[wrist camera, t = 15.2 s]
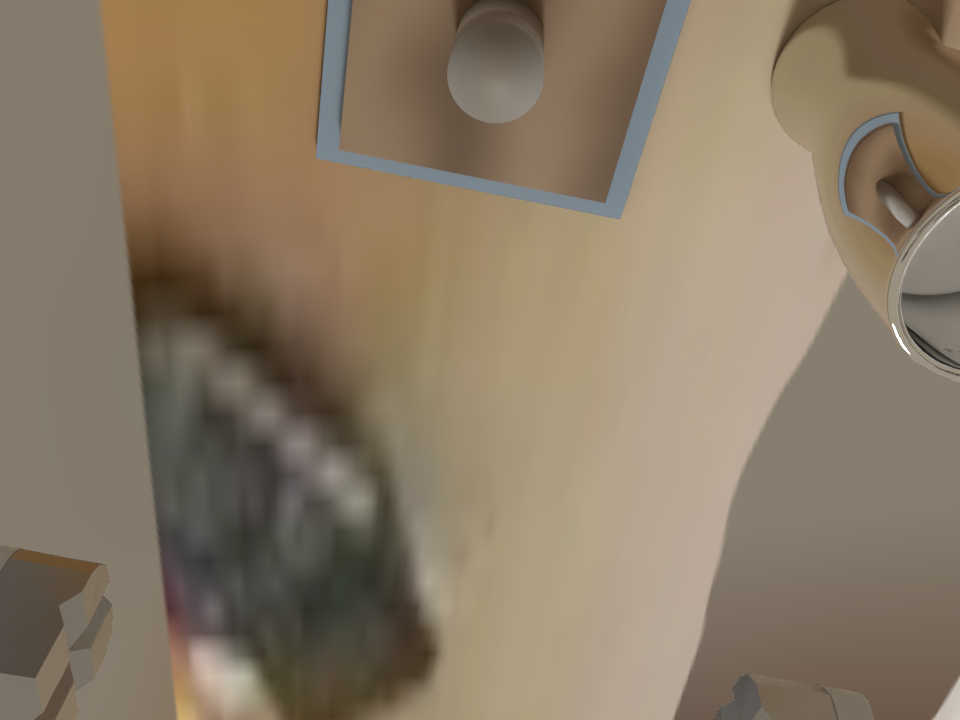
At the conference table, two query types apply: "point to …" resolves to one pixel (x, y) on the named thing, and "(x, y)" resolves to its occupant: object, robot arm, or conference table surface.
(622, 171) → the slate mat
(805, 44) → the beer glass
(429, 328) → the conference table surface
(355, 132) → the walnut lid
